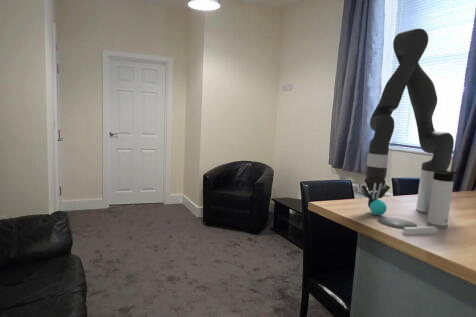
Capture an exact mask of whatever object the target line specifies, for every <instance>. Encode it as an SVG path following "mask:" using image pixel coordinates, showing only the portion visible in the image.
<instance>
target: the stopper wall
mask: <svg viewBox="0 0 476 317" xmlns="http://www.w3.org/2000/svg"><path fill="white" fill-rule="evenodd" d="M402 230H403V231H402V233H403V234H404V235H406V236H410V235H433V234H434V235H435V234H437V231H438V228H437V227H434V226H430V225H427V226H417V227H404V229H402Z"/></svg>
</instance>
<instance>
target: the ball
mask: <svg viewBox="0 0 476 317" xmlns="http://www.w3.org/2000/svg"><path fill="white" fill-rule="evenodd" d="M387 209H388V208H387V204H386V203H385V201H383V200H381V199H378V200H374V201H373V202H372V203H371V204H370V208H369V210H370V212H371V213H372V214H373V215H375V216H382V215H384V214H386V211H387Z"/></svg>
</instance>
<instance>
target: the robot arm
mask: <svg viewBox="0 0 476 317" xmlns="http://www.w3.org/2000/svg"><path fill="white" fill-rule="evenodd" d="M392 42H393V43H392V48H393V51H394V54H395V57H396V59H397V61H398V66H397V68H396V70H394V72H393V74H392V75H390V77H389V79H388V80H387V82H386V84H385V86H384V88H383V91H382V93H381V96H380V99H379V102H378V104H377V105H376V107H375V109H374V111H373V112H372V115H371V117H370V120H369V127H370V128H371V130H372V131H374V134H373V138H372V139H370V142H369V145H368V146H369V148H368V154H367V159H366V167H365V179H364V182H363V183H362V184H358V188H359V189H360V190H361V192H362V194H363V196H364V197H366V198H367V199H368V200H367V201H368V204H367V206H368V208H369V209H370V204H371V203H372V202H373V201H374V200H380V199H382V198H383V197H384V196H385V195H386V193H387V192H388V191H389V189H390V188H391V187H390V185H388V184H387V183H386V178H387V171H388V164H389V163H388V162H389V157H388V156H389V149H390V148H389V147H390V142H391V140H392V137H393V133H394V130H395V118H394V117H393V116H392V113H393V112H394V111H396V110H397V109H398V108H399V106H400V103H401V100H402V97H403V95H404V92H405V90H406V88H407V94H408V97H409V101H410V104H411V107H412V111H413V115H414V119H415V123H416V127H417V134H418V141H419V146H420V148H421V149H422V150H421V151H423V152H424V153H426V154H430V155H431V154H432V158H431V159H430V160H428V161H424V162H422V164H421V169H420V176H419V177H420V178H419V184H418V192H417V200H416V210H417V211H418V212H420V213H425V214H428V212H429V205H430V197H431V190H432V182H433V177H434V172H437V171H448V170H449V169H448V168H449V167H450V164H451V160H452V157H453V151H454V145H455V141H454V137H453V135H452V134H451V133H449V132H446V131H436V129H435V127H434V123H433V116H434V113H435V109H436V107H437V105H438V95H437V92H436V91H437V90H436V87H435V84H434V82H433V81H432V78H430V76H429V75H428V74H427V73H426V72H425V70H424V69H423V68H422V66H421V65H420V63H419V61H420V60H421V58H422V57H423V54H424V53H425V51H426V49H427V47H428V44H429V34H428V32H427V31H426V30H424V29H423V28H412V29H409V30H405V31H400V32H399V33H397V34H396V35H395V36H394V38H393V41H392Z"/></svg>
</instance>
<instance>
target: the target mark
mask: <svg viewBox="0 0 476 317" xmlns="http://www.w3.org/2000/svg"><path fill="white" fill-rule="evenodd" d="M377 222H378V223H379V224H381V225H383V226H387V227H389V228H390V227H391V228H395V229H399V230H400V229H401V230H404V227H418V225H417V224H416V223H415V222H412V221H410V220H407V219H403V218H398V217H391V216H389V217H387V216H386V217H383V216H382V217H379V218H377Z"/></svg>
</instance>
